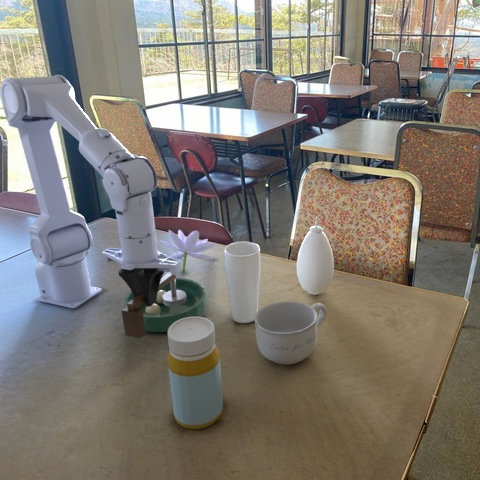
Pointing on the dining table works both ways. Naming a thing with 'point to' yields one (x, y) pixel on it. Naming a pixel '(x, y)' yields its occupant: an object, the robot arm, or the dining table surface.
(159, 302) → the ball
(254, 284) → the white tumbler
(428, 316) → the dining table surface
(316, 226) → the sauce bottle
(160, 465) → the dining table surface
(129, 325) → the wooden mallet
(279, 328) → the teacup
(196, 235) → the water lily
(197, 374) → the bottle
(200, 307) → the bowl
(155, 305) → the ball
